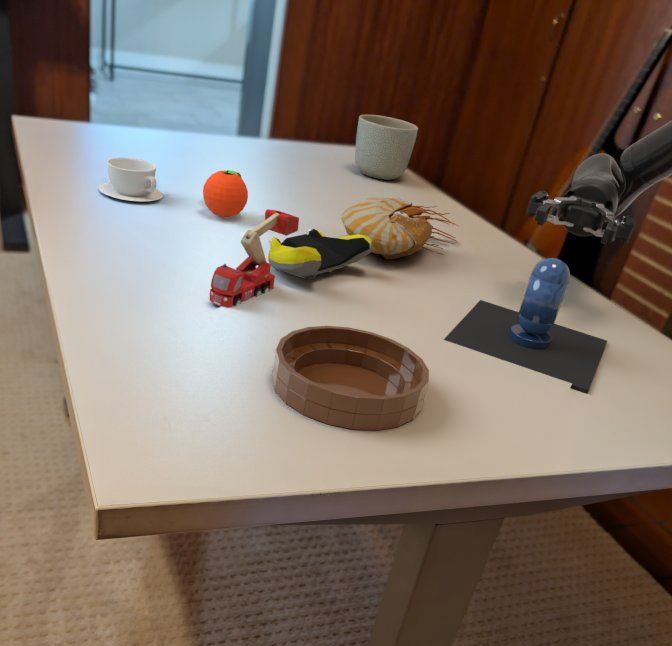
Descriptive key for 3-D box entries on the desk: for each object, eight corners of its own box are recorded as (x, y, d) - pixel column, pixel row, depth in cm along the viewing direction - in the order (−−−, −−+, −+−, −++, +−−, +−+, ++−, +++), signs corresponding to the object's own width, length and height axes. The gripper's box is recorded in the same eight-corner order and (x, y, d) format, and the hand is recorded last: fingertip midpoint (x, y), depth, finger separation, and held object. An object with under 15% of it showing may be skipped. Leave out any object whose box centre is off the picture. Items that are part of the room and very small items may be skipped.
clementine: (220, 205, 123) (224, 160, 120) (256, 217, 121) (262, 172, 118) (192, 214, 117) (195, 167, 113) (230, 226, 115) (235, 179, 111)
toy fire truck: (205, 304, 89) (212, 223, 84) (269, 278, 100) (278, 205, 95) (228, 313, 88) (236, 232, 83) (290, 286, 99) (301, 213, 94)
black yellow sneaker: (372, 275, 108) (319, 251, 112) (380, 237, 105) (325, 215, 109) (305, 295, 97) (249, 268, 101) (312, 254, 94) (254, 228, 99)
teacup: (84, 189, 118) (84, 158, 116) (132, 182, 126) (133, 153, 123) (130, 207, 114) (131, 176, 112) (176, 199, 122) (178, 170, 119)
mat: (606, 343, 101) (607, 340, 101) (587, 393, 87) (588, 390, 87) (479, 302, 106) (480, 299, 106) (441, 343, 92) (442, 340, 91)
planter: (371, 184, 154) (382, 127, 148) (338, 166, 162) (347, 112, 156) (418, 184, 160) (430, 131, 154) (384, 167, 168) (394, 116, 163)
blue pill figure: (552, 340, 98) (581, 260, 92) (544, 353, 94) (574, 270, 88) (514, 327, 99) (539, 248, 93) (504, 340, 95) (531, 257, 89)
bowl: (438, 391, 81) (447, 358, 79) (388, 454, 68) (397, 416, 66) (312, 346, 85) (318, 313, 83) (243, 397, 72) (248, 360, 70)
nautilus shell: (435, 242, 129) (476, 281, 118) (319, 227, 120) (352, 268, 109) (450, 196, 124) (495, 232, 113) (331, 178, 115) (367, 215, 104)
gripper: (551, 166, 111) (529, 183, 98) (648, 191, 107) (639, 213, 94) (535, 216, 115) (512, 239, 102) (628, 243, 111) (617, 270, 98)
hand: (573, 226), depth 98 cm, fingers open, 8 cm apart
